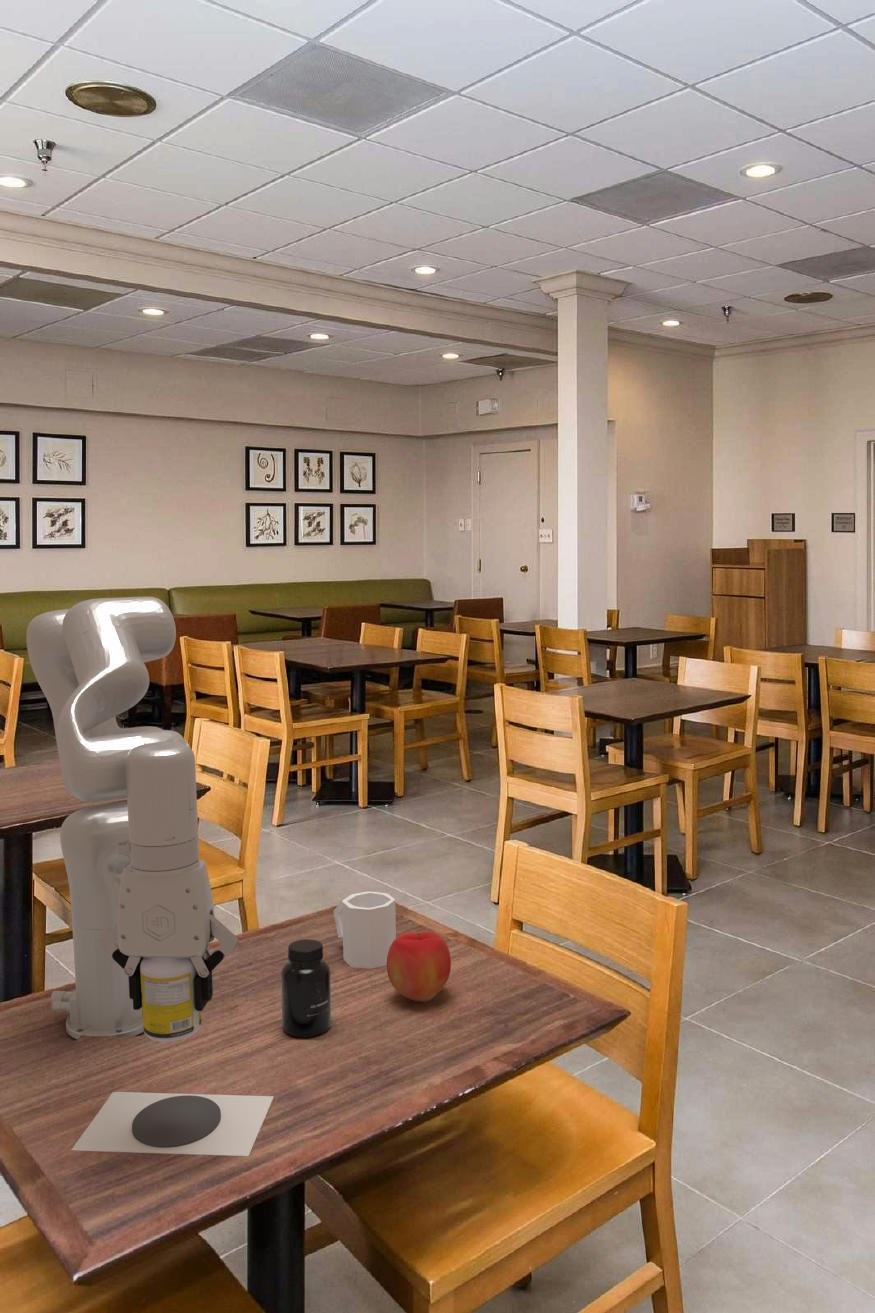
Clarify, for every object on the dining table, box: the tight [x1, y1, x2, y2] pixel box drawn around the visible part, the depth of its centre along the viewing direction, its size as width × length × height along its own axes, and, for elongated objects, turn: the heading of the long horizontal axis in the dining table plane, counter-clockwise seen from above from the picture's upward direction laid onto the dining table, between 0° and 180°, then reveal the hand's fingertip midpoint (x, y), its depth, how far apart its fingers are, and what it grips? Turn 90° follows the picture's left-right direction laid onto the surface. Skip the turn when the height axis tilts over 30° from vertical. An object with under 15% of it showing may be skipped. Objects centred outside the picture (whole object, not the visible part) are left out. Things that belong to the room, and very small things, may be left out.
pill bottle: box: [140, 957, 202, 1043], centre depth 117 cm, size 6×6×12 cm
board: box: [71, 1091, 275, 1157], centre depth 119 cm, size 20×12×1 cm, turn 86°
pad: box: [132, 1095, 221, 1148], centre depth 119 cm, size 10×10×1 cm
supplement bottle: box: [280, 938, 332, 1038], centre depth 143 cm, size 7×7×12 cm
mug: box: [333, 891, 397, 970], centre depth 168 cm, size 12×9×10 cm
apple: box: [386, 931, 452, 1003], centre depth 152 cm, size 10×10×10 cm
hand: (171, 1003), depth 117 cm, fingers closed on pill bottle, 6 cm apart
